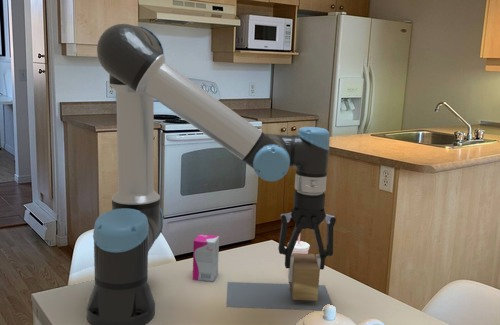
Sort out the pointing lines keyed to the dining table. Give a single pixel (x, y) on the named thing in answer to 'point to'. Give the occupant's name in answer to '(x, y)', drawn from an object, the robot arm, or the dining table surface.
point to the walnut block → (305, 277)
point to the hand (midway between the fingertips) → (303, 280)
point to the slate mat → (271, 297)
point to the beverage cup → (301, 247)
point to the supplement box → (205, 258)
